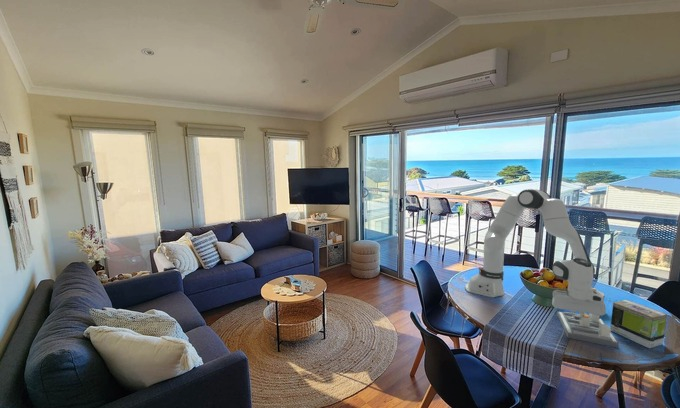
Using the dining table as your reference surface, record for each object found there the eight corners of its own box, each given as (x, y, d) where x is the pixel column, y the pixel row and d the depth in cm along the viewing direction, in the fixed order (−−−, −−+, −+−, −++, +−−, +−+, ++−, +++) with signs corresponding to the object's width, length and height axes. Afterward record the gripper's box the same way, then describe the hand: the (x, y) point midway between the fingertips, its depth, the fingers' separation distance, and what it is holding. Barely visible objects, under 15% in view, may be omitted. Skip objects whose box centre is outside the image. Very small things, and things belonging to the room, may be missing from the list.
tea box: (663, 344, 130) (668, 313, 127) (648, 349, 127) (653, 317, 125) (623, 326, 144) (626, 298, 142) (608, 330, 141) (612, 301, 139)
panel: (567, 337, 136) (568, 323, 135) (557, 314, 156) (558, 302, 155) (618, 347, 128) (620, 333, 127) (600, 322, 148) (602, 309, 147)
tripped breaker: (581, 326, 141) (582, 316, 140) (579, 323, 144) (580, 312, 143) (589, 328, 140) (590, 317, 139) (586, 324, 143) (588, 314, 142)
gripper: (554, 291, 143) (551, 317, 145) (608, 299, 133) (605, 327, 136) (551, 286, 148) (549, 311, 150) (603, 293, 139) (600, 320, 141)
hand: (576, 319), depth 143 cm, fingers closed
